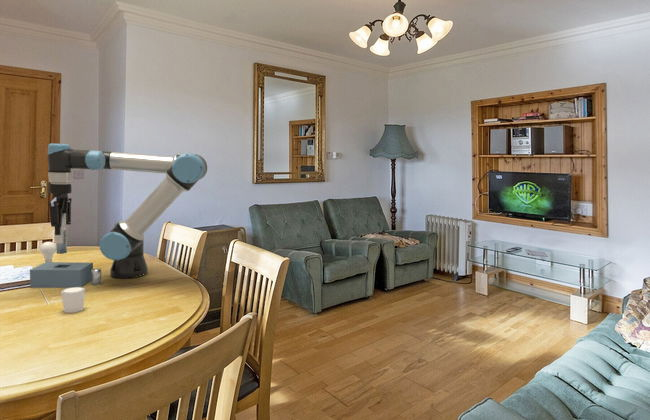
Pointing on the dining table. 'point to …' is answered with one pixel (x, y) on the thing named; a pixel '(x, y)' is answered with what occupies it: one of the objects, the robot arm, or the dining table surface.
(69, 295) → the shot glass
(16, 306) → the dining table surface
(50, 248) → the lightbulb
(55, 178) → the robot arm
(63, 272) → the hole block
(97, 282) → the short pin
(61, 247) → the tall pin
